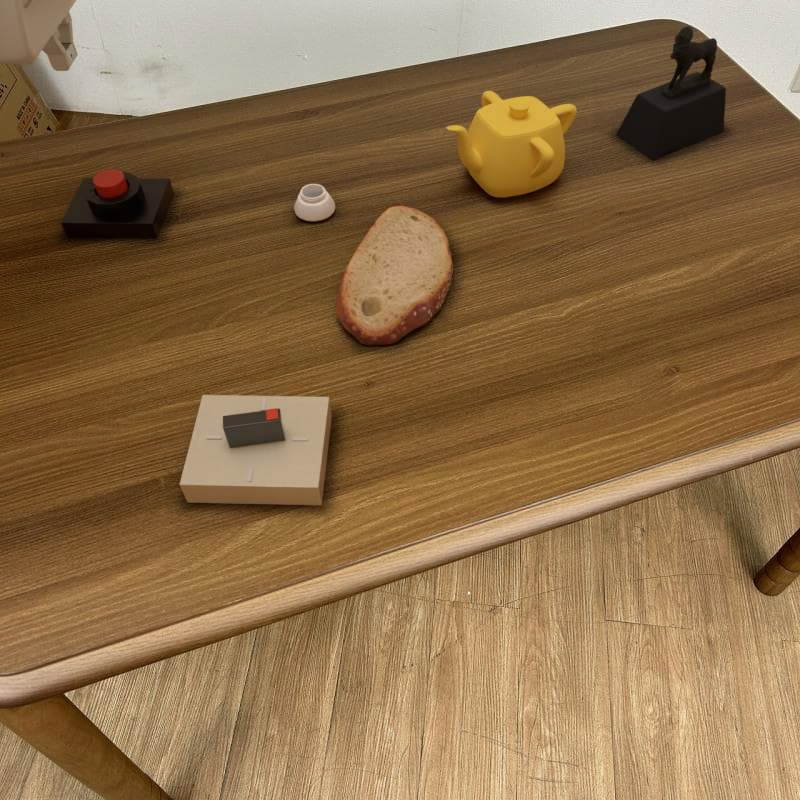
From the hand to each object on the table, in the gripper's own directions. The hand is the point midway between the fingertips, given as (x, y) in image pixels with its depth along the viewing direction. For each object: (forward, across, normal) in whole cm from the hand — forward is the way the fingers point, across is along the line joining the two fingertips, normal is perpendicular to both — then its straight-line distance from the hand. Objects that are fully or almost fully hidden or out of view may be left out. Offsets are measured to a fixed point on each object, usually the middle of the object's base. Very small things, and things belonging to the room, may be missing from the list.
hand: (66, 64), depth 77 cm
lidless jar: (+19, -1, +24) cm, 31 cm away
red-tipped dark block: (+16, +36, +23) cm, 46 cm away
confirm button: (+16, 0, 0) cm, 16 cm away
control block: (+19, 0, 0) cm, 19 cm away
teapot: (+19, -8, +48) cm, 52 cm away
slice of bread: (+19, +11, +34) cm, 41 cm away
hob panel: (+19, +36, +23) cm, 47 cm away
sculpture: (+19, -19, +71) cm, 76 cm away
